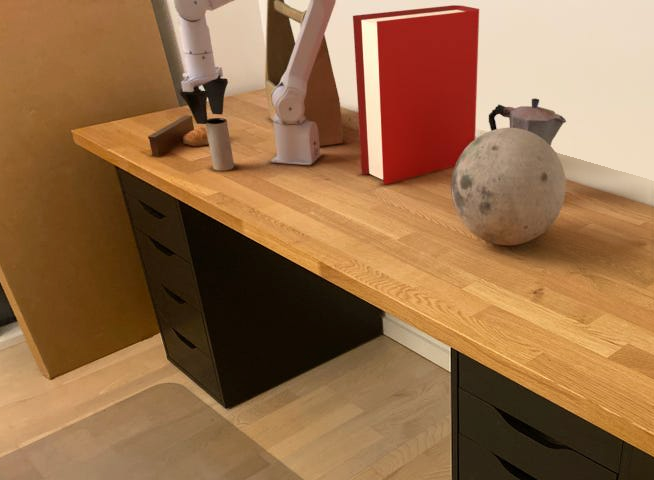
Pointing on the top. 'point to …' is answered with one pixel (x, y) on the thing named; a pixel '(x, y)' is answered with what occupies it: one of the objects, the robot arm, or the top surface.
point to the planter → (219, 144)
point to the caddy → (321, 82)
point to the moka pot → (530, 119)
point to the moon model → (508, 186)
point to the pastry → (196, 137)
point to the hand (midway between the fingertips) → (209, 118)
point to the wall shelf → (170, 135)
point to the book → (415, 89)
